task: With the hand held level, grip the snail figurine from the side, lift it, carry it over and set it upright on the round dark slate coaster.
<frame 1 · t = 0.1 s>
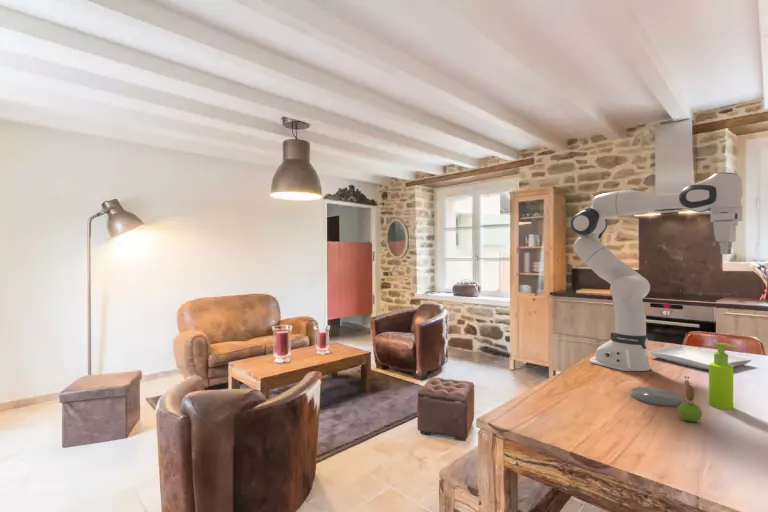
hand: (725, 254, 144), 48 cm above the table, tool pointing down, fingers open, 8 cm apart
square plate: (697, 363, 174), on the table
slate coaster: (656, 398, 131), on the table
snail figurine: (689, 421, 114), on the table
soap dispenser: (722, 407, 124), on the table
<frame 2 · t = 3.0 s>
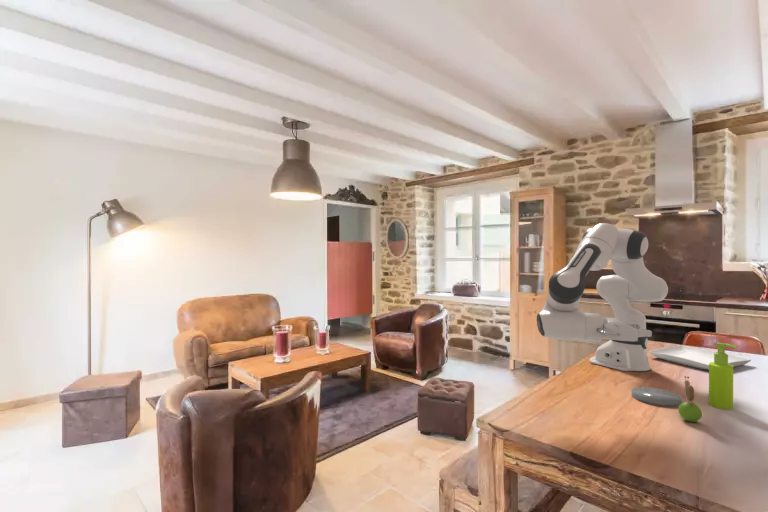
hand: (645, 330, 117), 26 cm above the table, tool horizontal, fingers open, 8 cm apart
nothing on the table moved.
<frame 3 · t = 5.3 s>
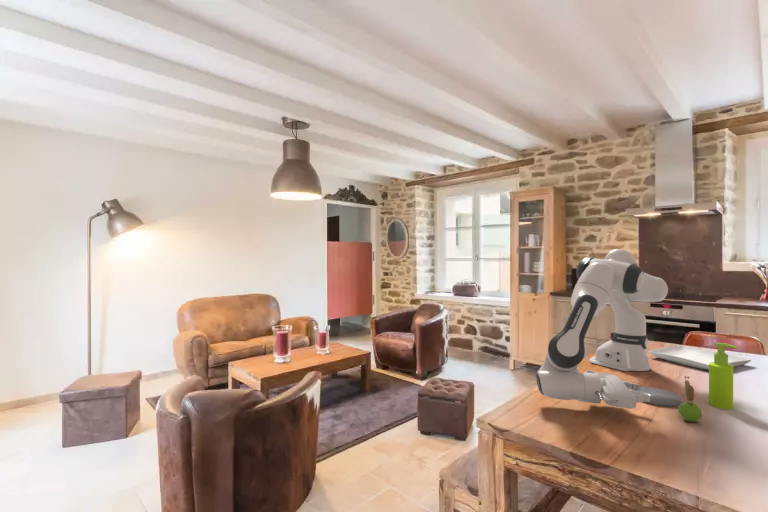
hand: (644, 392, 117), 7 cm above the table, tool horizontal, fingers open, 8 cm apart
nothing on the table moved.
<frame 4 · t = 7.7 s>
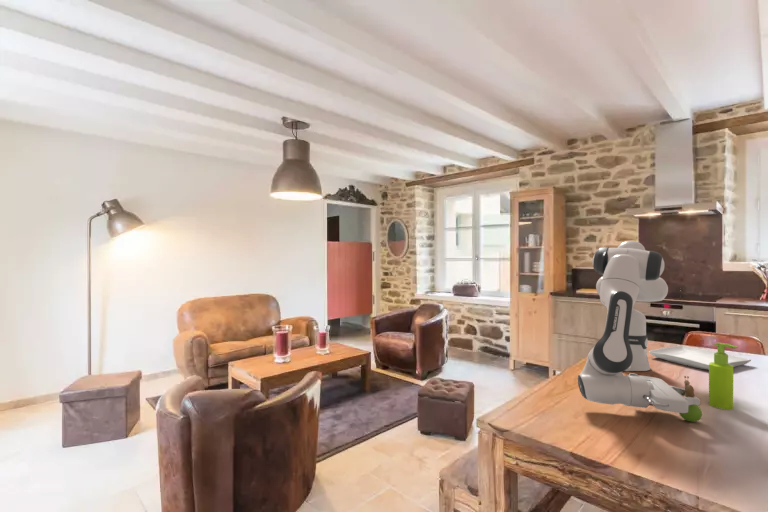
hand: (693, 396, 114), 7 cm above the table, tool horizontal, fingers closed on snail figurine, 6 cm apart
snail figurine: (689, 420, 114), on the table, touching gripper
everything else where it was.
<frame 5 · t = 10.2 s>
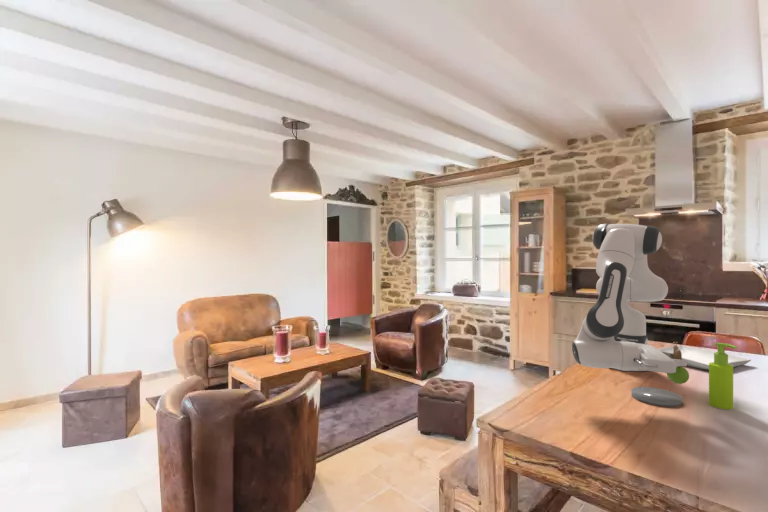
hand: (681, 359, 119), 16 cm above the table, tool horizontal, fingers closed on snail figurine, 5 cm apart
snail figurine: (677, 383, 120), point 9 cm above the table, touching gripper
everything else where it was.
when the fingers open (10 cm above the table, at t = 12.7 s): snail figurine moves 2 cm, resting on slate coaster.
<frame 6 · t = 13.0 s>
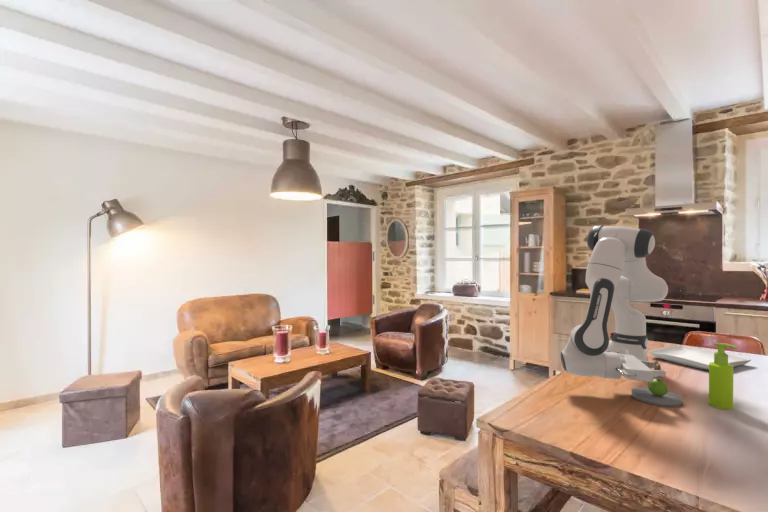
hand: (659, 369, 131), 10 cm above the table, tool horizontal, fingers open, 8 cm apart
snail figurine: (657, 395, 129), point 1 cm above the table, touching gripper, slate coaster
everything else where it was.
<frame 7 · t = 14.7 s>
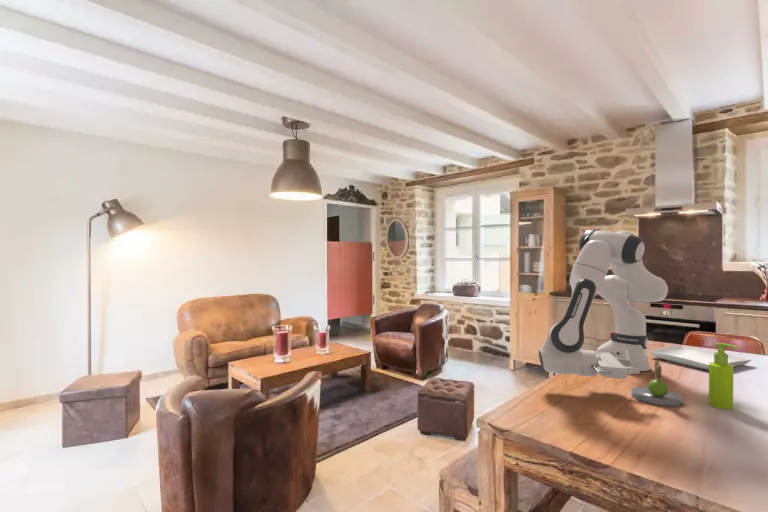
hand: (634, 366, 132), 10 cm above the table, tool horizontal, fingers open, 8 cm apart
snail figurine: (657, 396, 129), point 1 cm above the table, touching slate coaster
everything else where it was.
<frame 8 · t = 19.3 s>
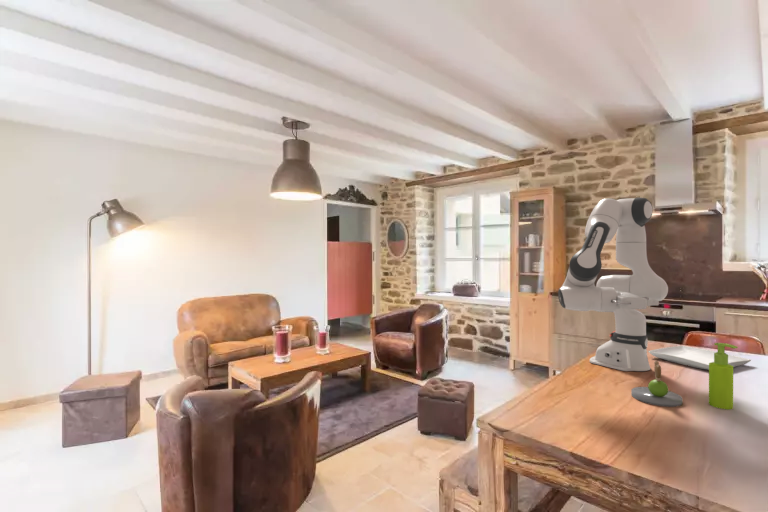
hand: (653, 300, 136), 32 cm above the table, tool horizontal, fingers open, 8 cm apart
nothing on the table moved.
at the end: snail figurine inside the target area on the slate coaster (1.7 cm from its centre), point 1.3 cm above the slate coaster's base; snail figurine tilted 0°; the gripper is holding nothing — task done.
